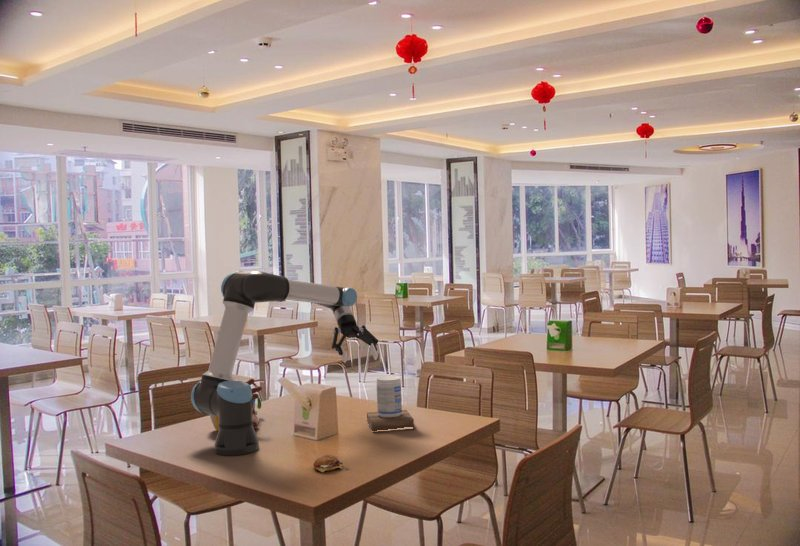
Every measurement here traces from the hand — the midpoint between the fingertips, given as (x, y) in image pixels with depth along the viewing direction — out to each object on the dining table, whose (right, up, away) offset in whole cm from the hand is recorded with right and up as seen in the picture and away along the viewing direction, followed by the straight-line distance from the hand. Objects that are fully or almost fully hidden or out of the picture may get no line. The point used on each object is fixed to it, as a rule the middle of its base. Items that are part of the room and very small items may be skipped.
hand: (361, 359), depth 278 cm
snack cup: (-49, -26, +8) cm, 56 cm away
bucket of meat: (-57, -21, -11) cm, 62 cm away
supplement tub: (+12, -21, -9) cm, 25 cm away
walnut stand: (+12, -25, -9) cm, 29 cm away
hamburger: (-6, -27, -60) cm, 66 cm away
